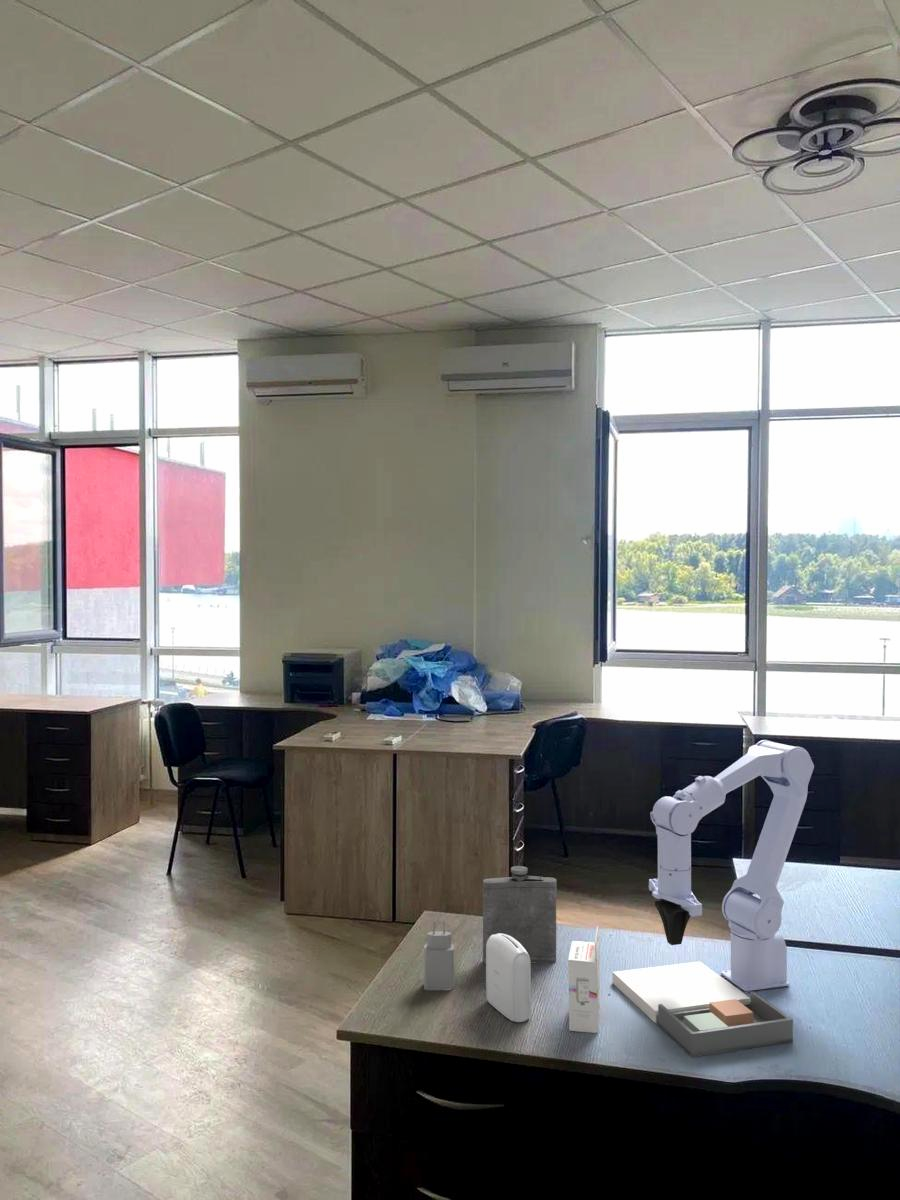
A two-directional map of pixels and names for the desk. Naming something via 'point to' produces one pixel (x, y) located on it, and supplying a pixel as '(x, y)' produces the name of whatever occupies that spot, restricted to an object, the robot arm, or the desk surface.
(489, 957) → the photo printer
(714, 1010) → the terracotta tile
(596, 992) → the ink cartridge box
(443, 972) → the power adapter
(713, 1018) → the sage-green tile
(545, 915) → the flask
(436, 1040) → the desk surface
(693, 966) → the white board
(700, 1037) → the box
